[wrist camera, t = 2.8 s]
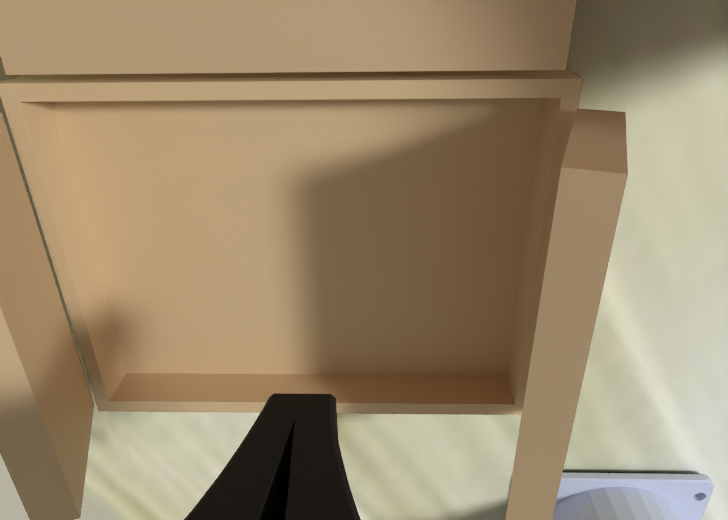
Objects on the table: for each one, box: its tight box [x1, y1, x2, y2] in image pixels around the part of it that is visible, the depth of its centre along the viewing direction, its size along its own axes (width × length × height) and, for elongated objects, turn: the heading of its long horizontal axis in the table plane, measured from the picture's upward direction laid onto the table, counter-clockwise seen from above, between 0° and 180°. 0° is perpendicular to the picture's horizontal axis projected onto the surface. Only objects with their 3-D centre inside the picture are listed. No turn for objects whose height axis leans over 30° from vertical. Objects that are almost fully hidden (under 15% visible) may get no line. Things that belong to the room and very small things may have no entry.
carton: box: [0, 0, 583, 415], centre depth 18 cm, size 16×16×2 cm
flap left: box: [0, 113, 94, 520], centre depth 16 cm, size 11×1×5 cm, turn 1°
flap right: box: [505, 109, 628, 520], centre depth 15 cm, size 11×1×5 cm, turn 1°
